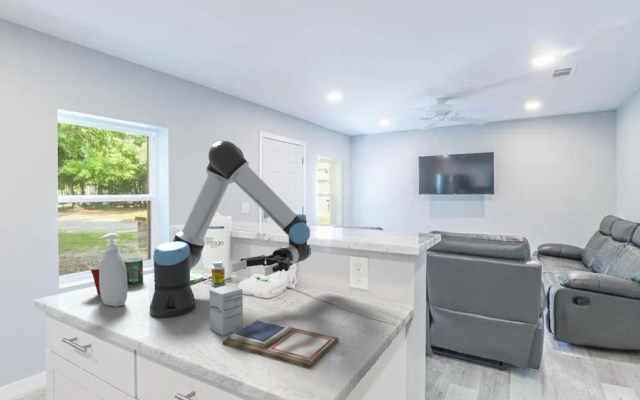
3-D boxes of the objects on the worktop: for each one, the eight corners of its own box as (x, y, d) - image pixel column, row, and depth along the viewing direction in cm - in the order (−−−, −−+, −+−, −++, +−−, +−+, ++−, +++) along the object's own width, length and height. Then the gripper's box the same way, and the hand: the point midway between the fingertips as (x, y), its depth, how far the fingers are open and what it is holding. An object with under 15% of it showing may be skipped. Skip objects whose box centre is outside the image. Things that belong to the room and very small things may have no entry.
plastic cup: (114, 288, 149) (113, 260, 148) (125, 292, 143) (125, 263, 142) (85, 294, 140) (84, 265, 140) (97, 299, 134) (95, 269, 133)
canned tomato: (120, 284, 154) (119, 260, 154) (137, 280, 161) (136, 257, 160) (129, 287, 150) (128, 262, 149) (146, 283, 156) (146, 259, 156)
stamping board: (222, 344, 95) (222, 335, 95) (258, 323, 109) (258, 316, 109) (310, 368, 82) (310, 359, 82) (338, 341, 96) (338, 333, 96)
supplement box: (209, 329, 105) (208, 289, 104) (230, 322, 110) (229, 283, 110) (222, 336, 100) (221, 294, 99) (243, 328, 105) (243, 288, 105)
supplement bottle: (213, 287, 148) (213, 264, 148) (210, 284, 153) (209, 261, 153) (226, 285, 151) (226, 262, 151) (222, 282, 156) (222, 260, 156)
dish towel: (218, 276, 168) (218, 271, 168) (180, 289, 147) (180, 283, 147) (192, 273, 176) (192, 267, 176) (152, 284, 155) (152, 279, 155)
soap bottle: (89, 305, 127) (86, 233, 126) (111, 298, 135) (108, 230, 133) (112, 311, 121) (110, 235, 120) (134, 304, 128) (132, 232, 127)
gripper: (313, 269, 126) (280, 285, 107) (259, 263, 138) (221, 277, 119) (312, 249, 126) (279, 261, 107) (258, 245, 137) (220, 255, 119)
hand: (248, 269), depth 113 cm, fingers open, 13 cm apart
